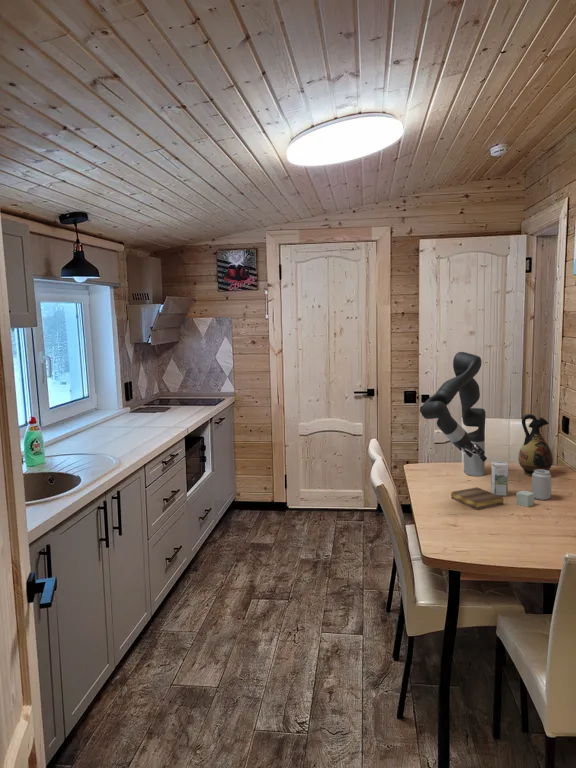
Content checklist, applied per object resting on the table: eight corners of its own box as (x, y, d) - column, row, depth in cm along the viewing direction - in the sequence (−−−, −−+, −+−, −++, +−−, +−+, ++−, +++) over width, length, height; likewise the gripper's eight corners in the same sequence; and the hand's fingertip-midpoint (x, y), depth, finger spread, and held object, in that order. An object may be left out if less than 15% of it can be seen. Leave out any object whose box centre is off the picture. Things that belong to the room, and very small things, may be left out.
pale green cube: (516, 504, 233) (516, 492, 232) (522, 501, 236) (523, 490, 235) (527, 507, 229) (527, 495, 228) (534, 504, 232) (534, 493, 231)
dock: (451, 498, 242) (451, 491, 242) (477, 493, 248) (477, 487, 247) (476, 509, 228) (476, 502, 227) (503, 504, 233) (503, 497, 232)
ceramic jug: (546, 470, 280) (548, 411, 276) (556, 478, 265) (557, 417, 261) (511, 469, 283) (512, 411, 279) (518, 478, 268) (519, 417, 264)
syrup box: (504, 492, 249) (504, 460, 247) (507, 496, 243) (508, 464, 241) (490, 492, 249) (491, 460, 247) (494, 496, 243) (494, 464, 242)
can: (550, 496, 241) (551, 469, 240) (550, 501, 234) (551, 473, 233) (532, 494, 244) (532, 467, 243) (531, 499, 238) (532, 472, 236)
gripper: (473, 430, 228) (495, 454, 234) (451, 425, 241) (472, 447, 247) (462, 444, 227) (484, 468, 232) (441, 438, 240) (462, 460, 245)
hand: (478, 457), depth 240 cm, fingers open, 8 cm apart
